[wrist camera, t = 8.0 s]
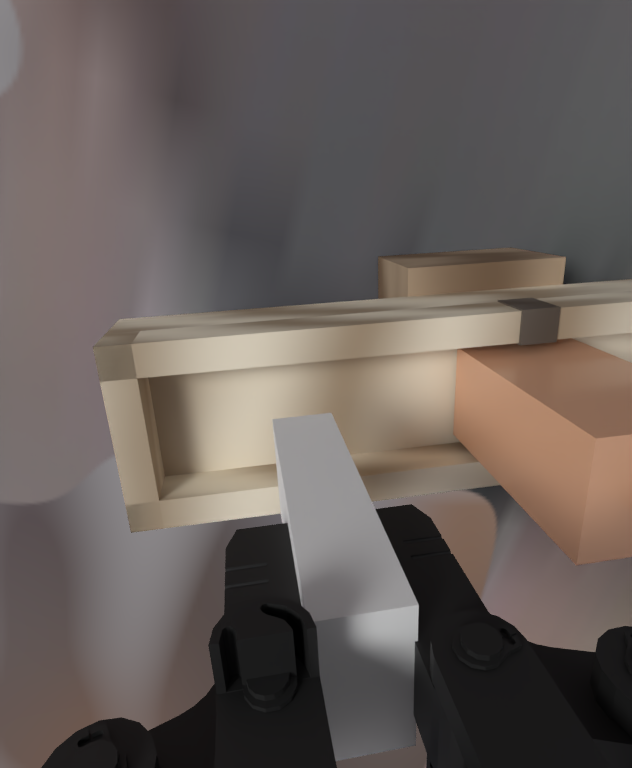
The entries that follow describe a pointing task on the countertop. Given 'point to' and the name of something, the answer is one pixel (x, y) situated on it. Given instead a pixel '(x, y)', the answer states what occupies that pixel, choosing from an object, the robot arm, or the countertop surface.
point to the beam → (331, 380)
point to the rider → (554, 438)
